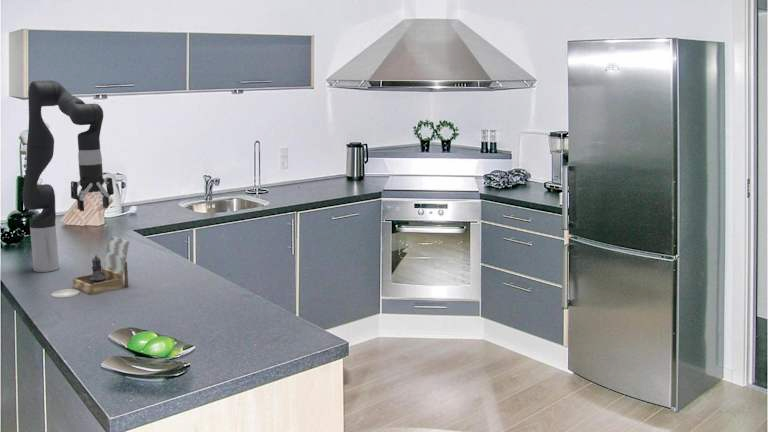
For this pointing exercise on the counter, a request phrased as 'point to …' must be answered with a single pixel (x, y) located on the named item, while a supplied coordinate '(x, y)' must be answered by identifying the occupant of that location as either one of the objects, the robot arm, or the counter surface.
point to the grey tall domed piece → (97, 271)
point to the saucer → (65, 293)
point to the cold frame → (108, 269)
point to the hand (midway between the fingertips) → (93, 209)
